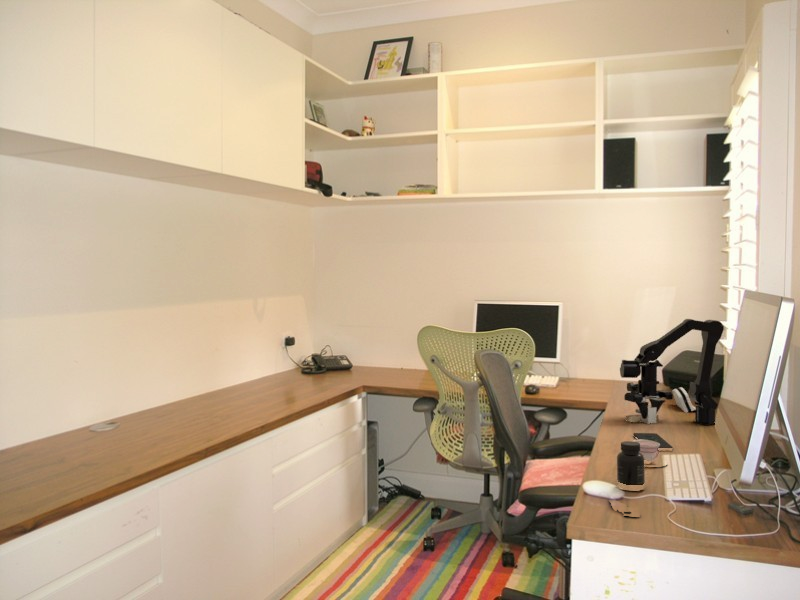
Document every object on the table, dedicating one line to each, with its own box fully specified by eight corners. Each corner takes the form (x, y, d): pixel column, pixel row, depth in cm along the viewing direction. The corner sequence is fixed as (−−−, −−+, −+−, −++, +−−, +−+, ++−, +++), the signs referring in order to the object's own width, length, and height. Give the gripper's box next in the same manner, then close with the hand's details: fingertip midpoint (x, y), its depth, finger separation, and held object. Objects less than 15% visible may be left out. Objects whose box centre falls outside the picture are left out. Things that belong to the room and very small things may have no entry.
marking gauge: (656, 423, 244) (656, 407, 244) (647, 423, 243) (648, 408, 243) (640, 418, 252) (640, 403, 252) (632, 419, 251) (632, 404, 251)
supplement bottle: (638, 484, 172) (638, 439, 171) (649, 492, 165) (649, 446, 164) (613, 484, 171) (613, 440, 171) (622, 493, 164) (622, 446, 164)
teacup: (616, 460, 195) (616, 440, 194) (646, 456, 199) (646, 436, 199) (645, 471, 184) (646, 449, 183) (676, 466, 188) (677, 445, 188)
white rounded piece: (698, 412, 263) (689, 389, 263) (686, 416, 264) (678, 393, 264) (689, 405, 279) (681, 383, 279) (678, 408, 280) (670, 386, 280)
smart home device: (656, 432, 224) (674, 447, 204) (656, 437, 224) (674, 453, 204) (632, 432, 225) (647, 447, 205) (632, 437, 225) (647, 452, 205)
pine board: (658, 419, 250) (658, 414, 250) (631, 422, 246) (631, 417, 245) (651, 418, 253) (652, 413, 253) (625, 420, 249) (625, 415, 249)
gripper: (653, 373, 256) (652, 412, 256) (614, 376, 249) (614, 416, 250) (674, 377, 245) (673, 418, 246) (634, 380, 239) (634, 422, 239)
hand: (648, 418), depth 245 cm, fingers closed on marking gauge, 4 cm apart
